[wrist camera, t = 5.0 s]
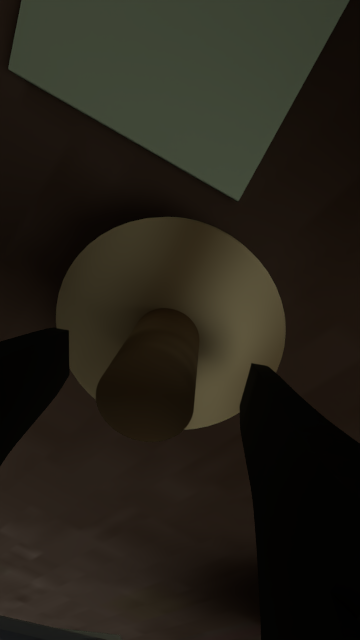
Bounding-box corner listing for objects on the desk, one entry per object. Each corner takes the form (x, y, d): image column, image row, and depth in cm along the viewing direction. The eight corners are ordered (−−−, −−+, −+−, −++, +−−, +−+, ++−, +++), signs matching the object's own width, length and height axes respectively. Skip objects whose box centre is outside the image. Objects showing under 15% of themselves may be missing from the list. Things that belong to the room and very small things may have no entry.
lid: (307, 235, 11) (393, 254, 6) (251, 428, 15) (273, 543, 10) (65, 200, 12) (-52, 190, 7) (70, 396, 16) (-1, 489, 10)
